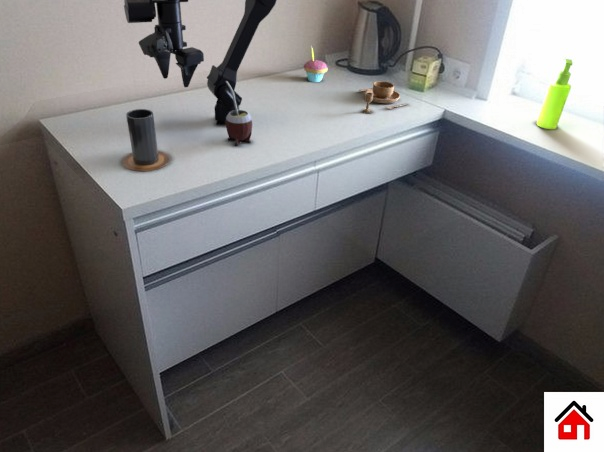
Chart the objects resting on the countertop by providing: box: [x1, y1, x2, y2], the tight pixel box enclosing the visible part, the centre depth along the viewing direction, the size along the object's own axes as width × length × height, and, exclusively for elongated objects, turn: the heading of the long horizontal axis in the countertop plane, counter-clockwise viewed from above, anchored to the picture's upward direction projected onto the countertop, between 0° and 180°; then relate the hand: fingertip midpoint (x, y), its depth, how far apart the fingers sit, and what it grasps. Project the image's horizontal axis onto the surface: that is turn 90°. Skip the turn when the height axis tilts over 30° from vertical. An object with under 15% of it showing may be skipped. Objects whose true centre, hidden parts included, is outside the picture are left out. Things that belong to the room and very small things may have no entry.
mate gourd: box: [225, 81, 253, 147], centre depth 131 cm, size 8×8×15 cm
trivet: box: [122, 150, 170, 172], centre depth 122 cm, size 11×11×1 cm
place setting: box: [358, 80, 408, 114], centre depth 164 cm, size 18×20×6 cm
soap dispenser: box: [536, 58, 574, 130], centre depth 150 cm, size 6×7×20 cm
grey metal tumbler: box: [125, 108, 159, 165], centre depth 119 cm, size 6×6×12 cm
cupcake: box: [303, 45, 328, 83], centre depth 178 cm, size 9×8×12 cm
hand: (175, 82), depth 133 cm, fingers open, 9 cm apart
